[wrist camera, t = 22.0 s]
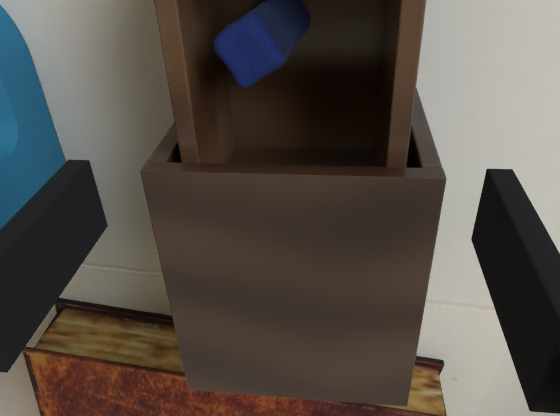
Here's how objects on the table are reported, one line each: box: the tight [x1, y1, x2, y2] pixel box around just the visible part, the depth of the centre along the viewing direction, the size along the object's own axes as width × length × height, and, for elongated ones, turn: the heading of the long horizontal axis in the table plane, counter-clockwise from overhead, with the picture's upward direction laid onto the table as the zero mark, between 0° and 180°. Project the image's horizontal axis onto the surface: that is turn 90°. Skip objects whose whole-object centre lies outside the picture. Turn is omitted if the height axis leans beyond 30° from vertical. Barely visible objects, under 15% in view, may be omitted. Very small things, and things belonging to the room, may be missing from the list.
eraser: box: [213, 0, 311, 88], centre depth 20 cm, size 2×2×7 cm
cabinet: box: [141, 88, 446, 407], centre depth 26 cm, size 14×12×10 cm
